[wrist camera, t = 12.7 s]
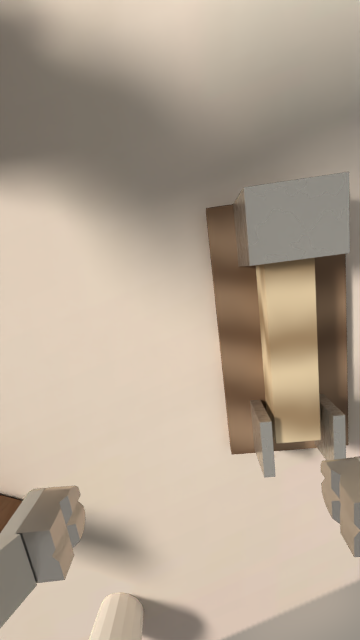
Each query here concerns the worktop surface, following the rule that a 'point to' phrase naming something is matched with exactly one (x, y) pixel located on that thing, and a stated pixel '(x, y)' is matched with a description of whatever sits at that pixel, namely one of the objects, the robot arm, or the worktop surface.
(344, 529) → the robot arm
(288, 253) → the end caps
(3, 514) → the wooden block
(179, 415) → the worktop surface
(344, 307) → the base board
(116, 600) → the white cylinder
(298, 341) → the pine slat
